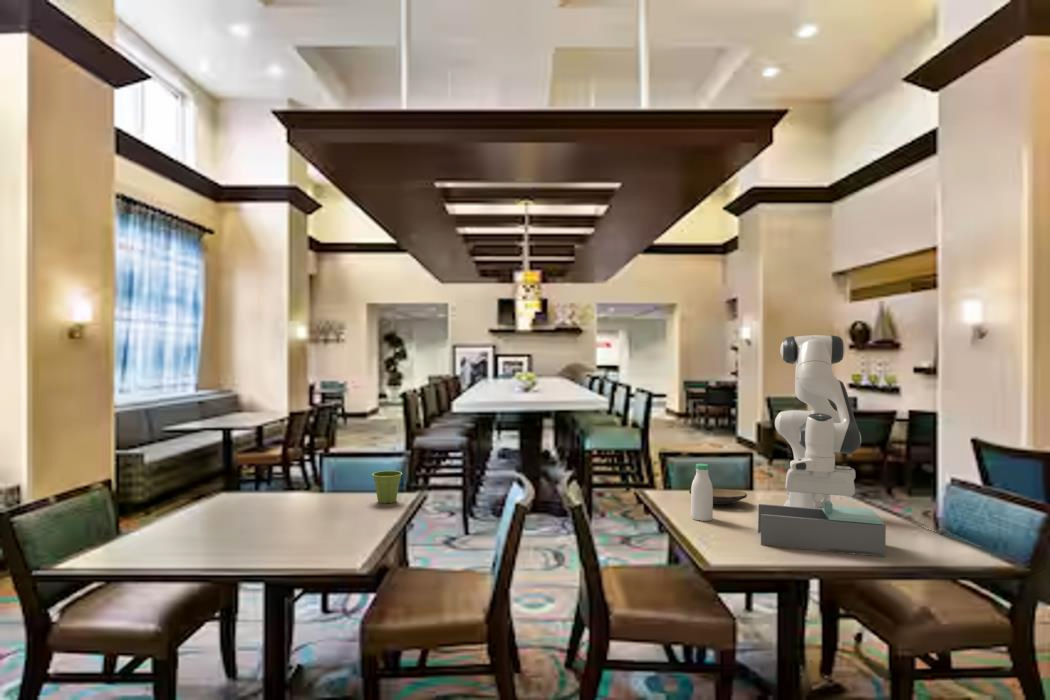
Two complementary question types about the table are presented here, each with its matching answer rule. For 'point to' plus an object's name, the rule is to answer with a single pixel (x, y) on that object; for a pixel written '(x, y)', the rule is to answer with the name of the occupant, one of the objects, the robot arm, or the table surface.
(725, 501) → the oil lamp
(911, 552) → the table surface
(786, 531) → the housing
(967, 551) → the table surface
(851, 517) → the lid
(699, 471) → the milk bottle
